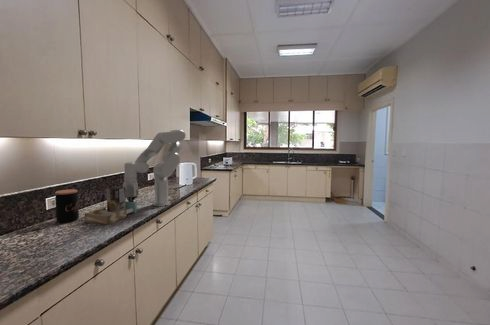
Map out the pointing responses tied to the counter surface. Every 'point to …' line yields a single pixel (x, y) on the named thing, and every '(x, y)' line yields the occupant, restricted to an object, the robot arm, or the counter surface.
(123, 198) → the coffee box
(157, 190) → the robot arm
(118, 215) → the wooden drawer box
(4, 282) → the counter surface
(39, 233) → the counter surface
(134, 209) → the tray
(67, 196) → the coffee jar
